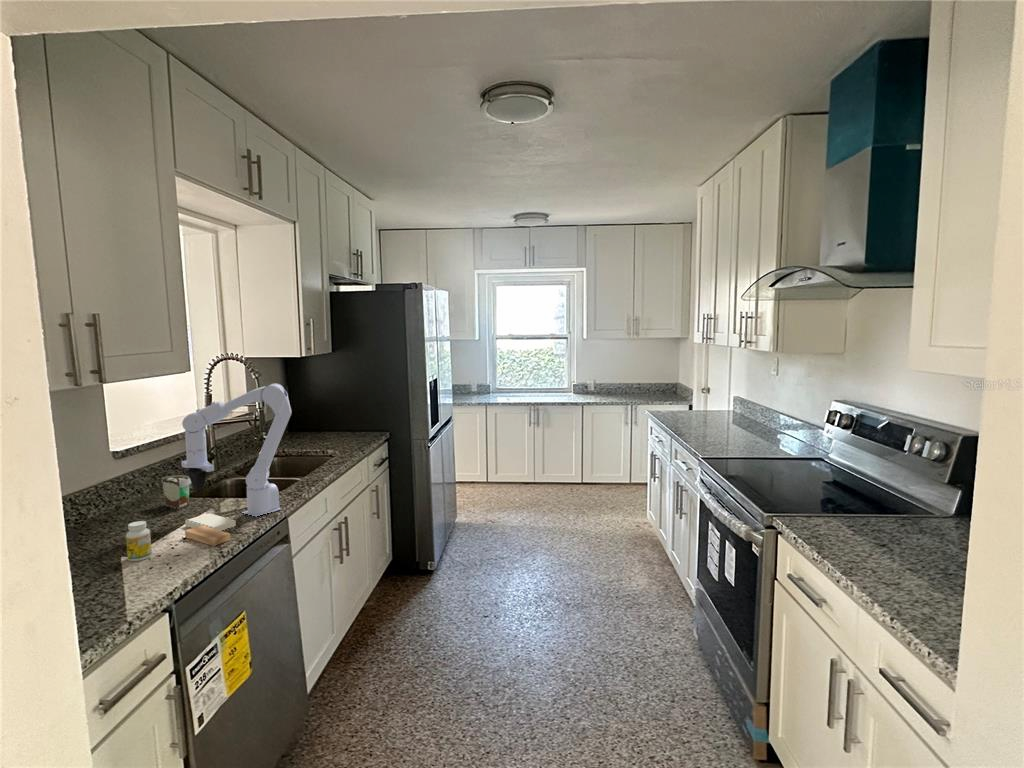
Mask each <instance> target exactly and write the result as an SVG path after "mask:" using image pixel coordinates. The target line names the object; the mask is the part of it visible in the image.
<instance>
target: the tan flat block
mask: <svg viewBox="0 0 1024 768" xmlns="http://www.w3.org/2000/svg"><path fill="white" fill-rule="evenodd" d="M184 535H185V538H186V539H187V538H188V539H191V540H193V541H196V542H200V543H203V544H207V545H209V546H213V547H215V546H218V545H220V544H223V543H226V542H229V541H231V533H230V532H226V531H220V530H216V529H213V528H209V527H206V526H202V525H201V526H198V527H195V528H188V529H186V530H185V531H184Z"/></svg>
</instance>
